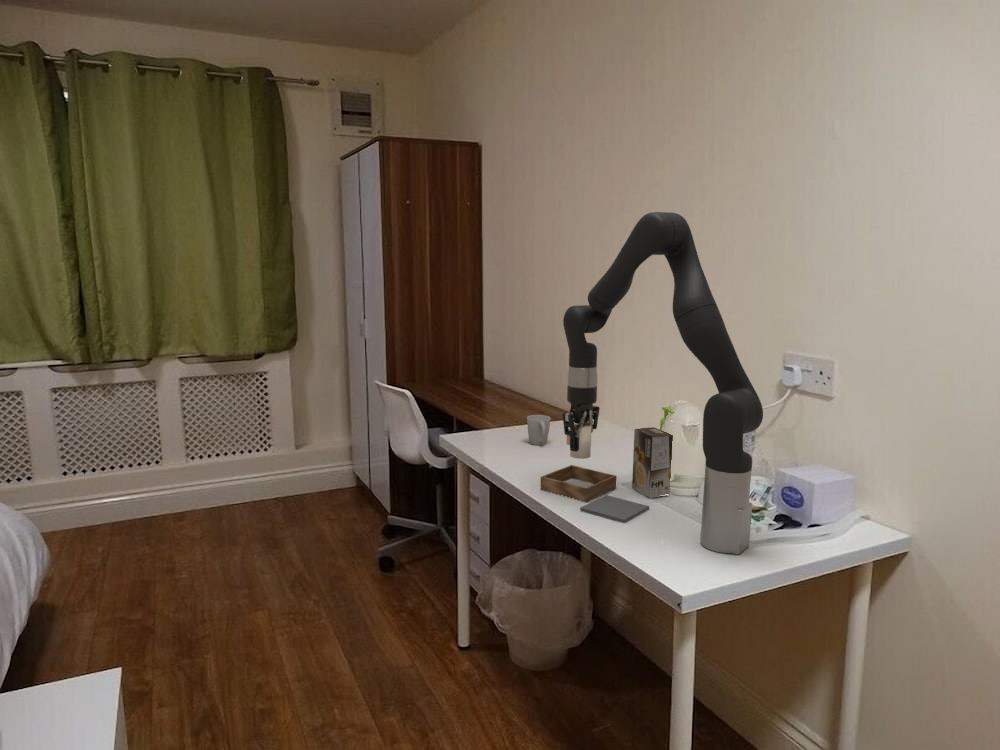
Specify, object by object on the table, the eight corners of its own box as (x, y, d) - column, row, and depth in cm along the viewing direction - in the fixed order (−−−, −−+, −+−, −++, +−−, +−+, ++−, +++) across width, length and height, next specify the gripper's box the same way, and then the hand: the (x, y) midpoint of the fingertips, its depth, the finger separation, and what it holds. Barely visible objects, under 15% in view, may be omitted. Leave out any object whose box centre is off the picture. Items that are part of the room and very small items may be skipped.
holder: (616, 488, 187) (616, 475, 187) (586, 502, 176) (587, 488, 176) (570, 477, 196) (571, 464, 195) (540, 489, 185) (540, 476, 185)
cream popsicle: (594, 455, 185) (595, 425, 184) (583, 459, 181) (584, 429, 180) (572, 451, 189) (573, 421, 188) (561, 455, 185) (562, 425, 184)
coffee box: (670, 496, 182) (674, 435, 179) (649, 498, 180) (652, 436, 177) (651, 485, 191) (654, 426, 188) (630, 487, 188) (633, 428, 186)
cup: (545, 439, 235) (546, 414, 234) (555, 447, 226) (555, 421, 224) (523, 440, 233) (524, 415, 232) (531, 448, 224) (532, 422, 222)
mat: (649, 509, 172) (649, 506, 172) (624, 523, 163) (624, 519, 163) (606, 497, 180) (606, 494, 180) (580, 510, 171) (580, 507, 171)
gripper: (579, 389, 174) (577, 457, 176) (609, 382, 185) (607, 445, 187) (553, 385, 178) (552, 451, 181) (585, 378, 189) (583, 441, 192)
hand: (580, 448), depth 184 cm, fingers closed on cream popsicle, 5 cm apart
